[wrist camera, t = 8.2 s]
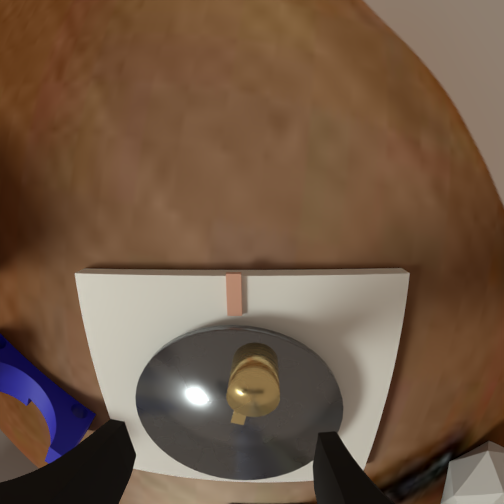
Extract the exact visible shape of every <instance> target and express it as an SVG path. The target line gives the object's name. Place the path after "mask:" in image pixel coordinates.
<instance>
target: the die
mask: <svg viewBox="0 0 504 504" xmlns="http://www.w3.org/2000/svg"><path fill="white" fill-rule="evenodd" d="M441 504H504V447H502V446H500V445H498V444H495V443H493V442H491V441H487V442H486V443H484V444H482V445H481V446H479V447H477V448H475V449H473V450H471V451H470V452H468V453H466V454H464V455H462V456H460V457H458V458H456V459H454V460H452V461H450V462H449V467H448V473H447V478H446V482H445V487H444V491H443V496H442V500H441Z"/></svg>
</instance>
